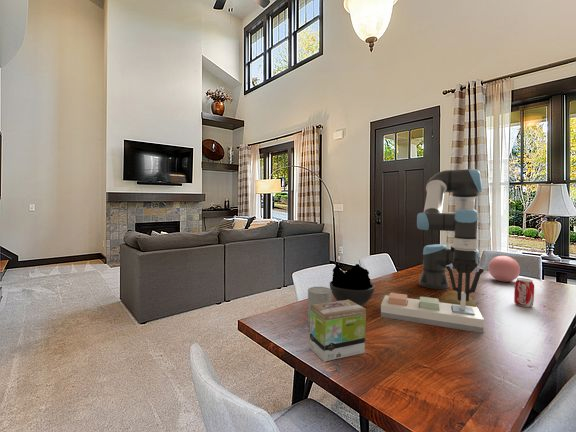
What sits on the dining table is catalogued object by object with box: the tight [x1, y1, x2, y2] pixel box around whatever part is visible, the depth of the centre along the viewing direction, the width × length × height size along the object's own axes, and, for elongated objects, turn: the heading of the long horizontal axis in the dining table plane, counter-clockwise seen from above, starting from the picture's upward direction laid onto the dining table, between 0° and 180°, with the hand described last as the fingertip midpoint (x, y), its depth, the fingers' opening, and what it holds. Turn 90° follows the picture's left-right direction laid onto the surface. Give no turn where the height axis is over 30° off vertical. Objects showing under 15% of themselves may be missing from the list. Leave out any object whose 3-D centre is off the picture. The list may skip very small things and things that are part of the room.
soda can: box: [513, 277, 535, 308], centre depth 138 cm, size 7×7×12 cm
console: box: [380, 294, 485, 334], centre depth 123 cm, size 14×36×5 cm, turn 65°
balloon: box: [487, 255, 521, 283], centre depth 181 cm, size 15×20×15 cm
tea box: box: [309, 300, 367, 363], centre depth 96 cm, size 15×10×15 cm
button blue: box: [452, 305, 474, 315], centre depth 118 cm, size 7×7×3 cm
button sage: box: [419, 296, 440, 310], centre depth 123 cm, size 7×7×3 cm
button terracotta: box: [388, 292, 408, 306], centre depth 128 cm, size 7×7×3 cm
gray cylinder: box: [307, 286, 333, 323], centre depth 120 cm, size 10×10×12 cm
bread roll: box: [439, 289, 477, 307], centre depth 134 cm, size 10×15×8 cm, turn 42°
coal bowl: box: [329, 263, 376, 306], centre depth 137 cm, size 20×20×19 cm
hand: (462, 308), depth 118 cm, fingers closed
